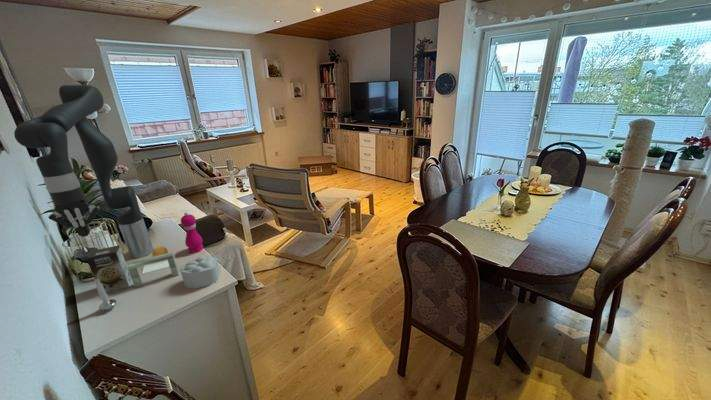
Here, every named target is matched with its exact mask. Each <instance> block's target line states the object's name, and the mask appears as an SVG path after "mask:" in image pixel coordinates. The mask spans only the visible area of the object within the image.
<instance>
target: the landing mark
mask: <svg viewBox="0 0 711 400" xmlns="http://www.w3.org/2000/svg"><path fill="white" fill-rule="evenodd" d="M173 255H174V258H175V259H176V252H173ZM166 268H170V266H169V263H168V260H164V261H160V262H156V263H152V264H148V265H144V266H143V268H142V273H141V274H142V275H143V274H144V275H145V274H147V273H152V272H155V271H159V270H162V269H166Z"/></svg>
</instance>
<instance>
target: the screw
mask: <svg viewBox="0 0 711 400" xmlns="http://www.w3.org/2000/svg"><path fill="white" fill-rule="evenodd" d="M93 282H94V283H95V285H96V286H95V287H96V290H97V292H98V294H99V296H100V299H101V302H102V303H101V304H100V305H99V306H98V309H99V310H104V311H105V312H110V311H111V310H113V309H114V308H115V305H116V304H117V300H116V299H113V298H112V299H110V298H109V296H108V292H106V291H105V289H104V286H103V285H102V284H101V282H100V280H99V279H95V278H94V280H93Z"/></svg>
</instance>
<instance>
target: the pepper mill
mask: <svg viewBox="0 0 711 400" xmlns="http://www.w3.org/2000/svg"><path fill="white" fill-rule="evenodd" d="M196 220H197V219H196V217H195V216H194V215H193V214H189V212H188V211H185V212H184V215H183V216H182V217H181V218H180V224H181V225H182V226H183V229H184V230H185V234H186V237H185V246H186V247H188V248H187V249H188V252H189V253H190V254H196V253H199V252H201V251H203V249H204V245H203V237H202V236H201V234H199V232H198V231H197V229H196V226H197V225H196Z"/></svg>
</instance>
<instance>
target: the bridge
mask: <svg viewBox="0 0 711 400" xmlns="http://www.w3.org/2000/svg"><path fill="white" fill-rule="evenodd" d="M173 253H174V252H173V251H171V252H168V253H167V254H163V255H159V256H155V257H153V256H152V257H148V258H144V259H141V260H136V261H132V262H129V263H127V268H128V271H129V273H130V276H131V278H132V279H131V281H132V283H133V285H134V288H135V289H136V288H139V287H142V283H143V280H142V278H141V275H140V272H139V271H138V268H140V267H144V265H148V264H152V263H156V262H160V261H164V260H168V263H169V266H170V267H169V269H170V271H171V275H172V277H177V276H179V273H180V272H179V271H180V270H179V269H178V265H177V262H176V257H175V258H174V255H173Z"/></svg>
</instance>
